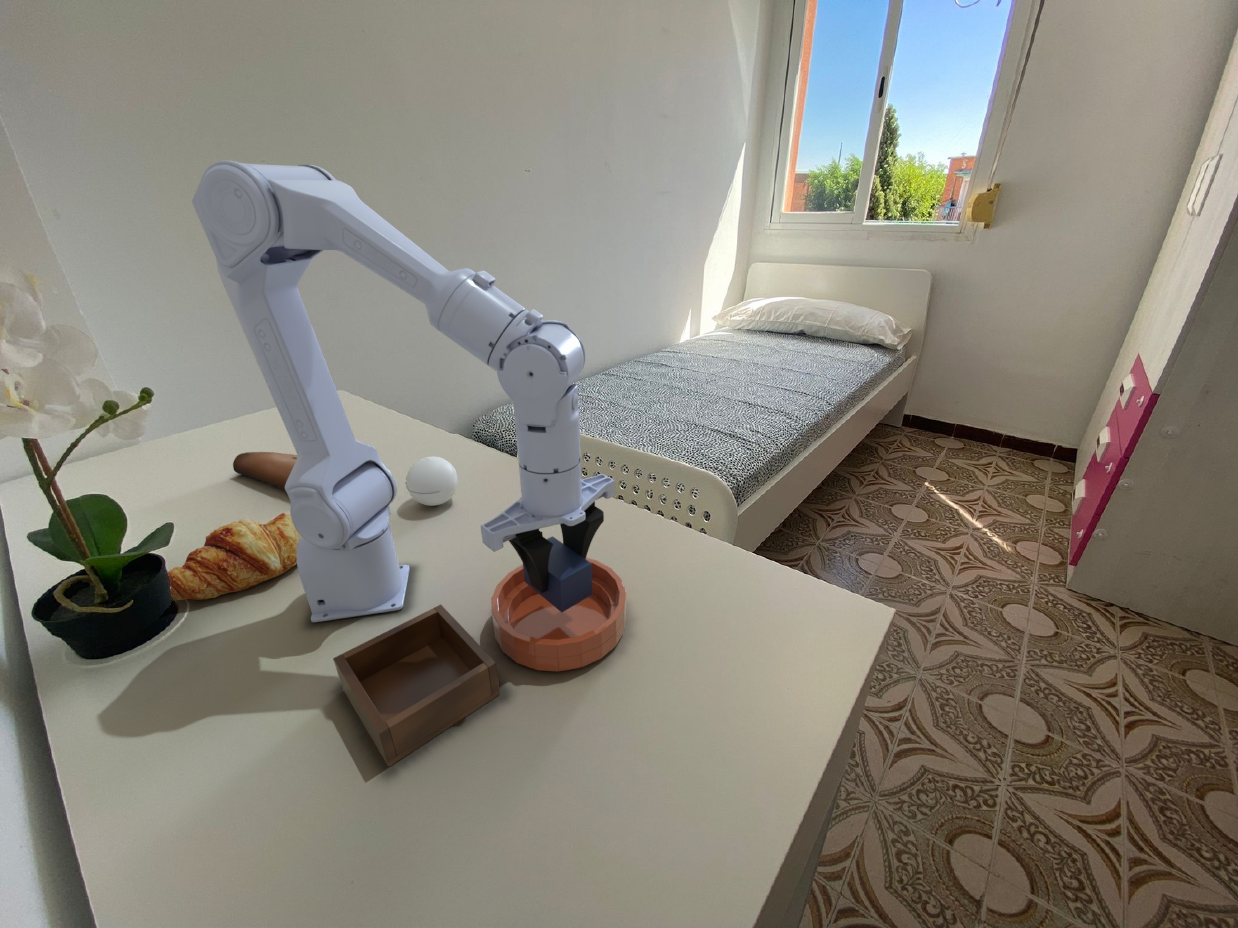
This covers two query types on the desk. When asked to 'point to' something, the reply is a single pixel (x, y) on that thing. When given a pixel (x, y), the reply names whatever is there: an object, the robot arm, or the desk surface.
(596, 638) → the bowl
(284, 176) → the robot arm
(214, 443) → the desk surface
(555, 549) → the dark blue block
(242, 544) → the croissant
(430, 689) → the box
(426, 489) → the white sphere
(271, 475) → the sunglasses case
